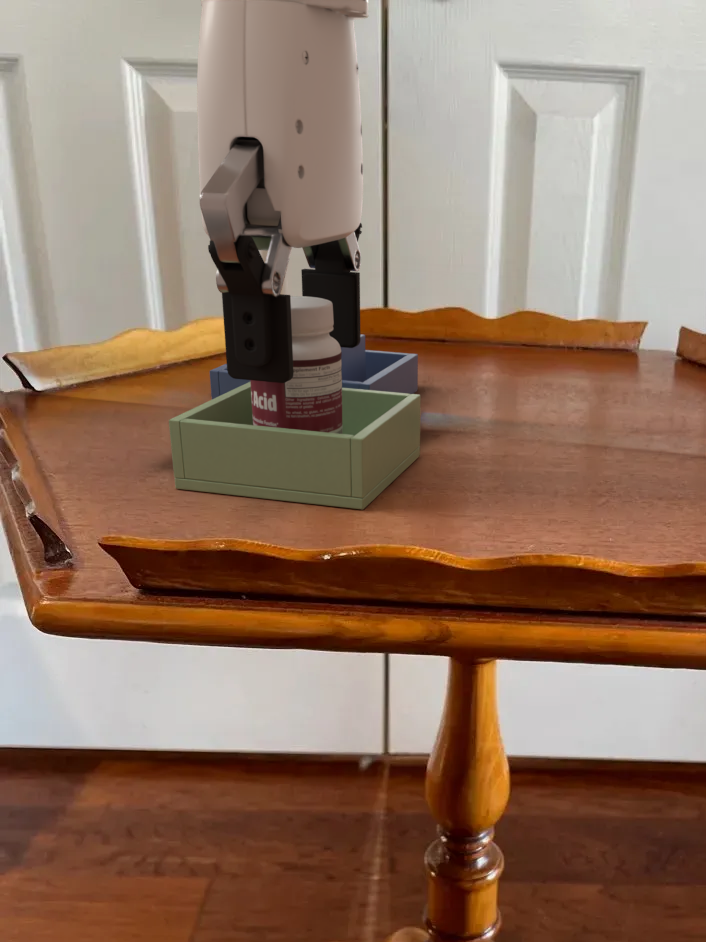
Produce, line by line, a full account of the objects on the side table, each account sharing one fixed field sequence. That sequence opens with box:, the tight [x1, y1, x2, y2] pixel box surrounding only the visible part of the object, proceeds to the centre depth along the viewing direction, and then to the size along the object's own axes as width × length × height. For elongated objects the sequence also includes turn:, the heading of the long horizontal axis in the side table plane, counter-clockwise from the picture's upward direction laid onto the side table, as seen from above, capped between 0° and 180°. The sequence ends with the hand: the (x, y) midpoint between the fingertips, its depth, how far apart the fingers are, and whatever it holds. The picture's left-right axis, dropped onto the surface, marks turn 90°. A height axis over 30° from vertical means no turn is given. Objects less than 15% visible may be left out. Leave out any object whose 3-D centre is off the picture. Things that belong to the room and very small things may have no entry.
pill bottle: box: [250, 295, 343, 434], centre depth 54 cm, size 5×5×8 cm
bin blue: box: [209, 349, 419, 400], centre depth 66 cm, size 10×10×4 cm
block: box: [340, 333, 366, 382], centre depth 66 cm, size 4×4×4 cm
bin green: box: [168, 382, 422, 510], centre depth 55 cm, size 10×10×4 cm
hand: (299, 361), depth 54 cm, fingers open, 9 cm apart
